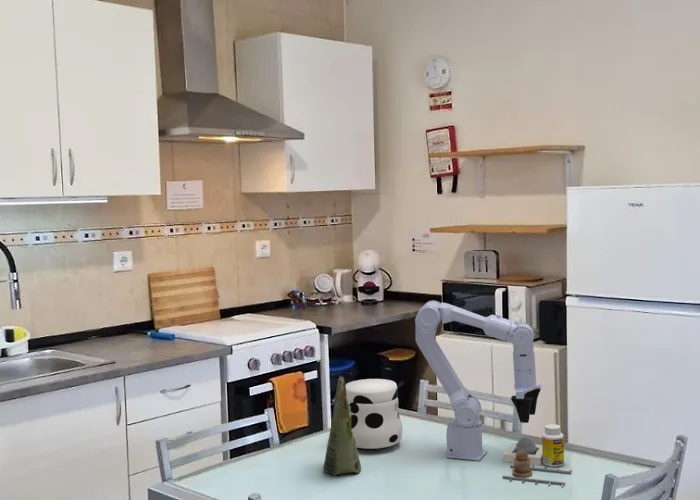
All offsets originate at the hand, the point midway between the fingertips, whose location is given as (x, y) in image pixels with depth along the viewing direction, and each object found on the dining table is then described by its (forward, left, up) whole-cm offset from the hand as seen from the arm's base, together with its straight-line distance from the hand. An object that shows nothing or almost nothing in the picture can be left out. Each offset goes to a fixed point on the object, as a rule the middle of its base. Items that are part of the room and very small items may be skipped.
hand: (527, 418), depth 219 cm
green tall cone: (-44, -25, -11) cm, 52 cm away
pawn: (+1, -13, -11) cm, 17 cm away
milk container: (-45, -3, -11) cm, 46 cm away
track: (+5, -13, -11) cm, 18 cm away
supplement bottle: (+7, -3, -11) cm, 14 cm away
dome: (-1, 0, -10) cm, 10 cm away
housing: (-1, 0, -11) cm, 11 cm away
